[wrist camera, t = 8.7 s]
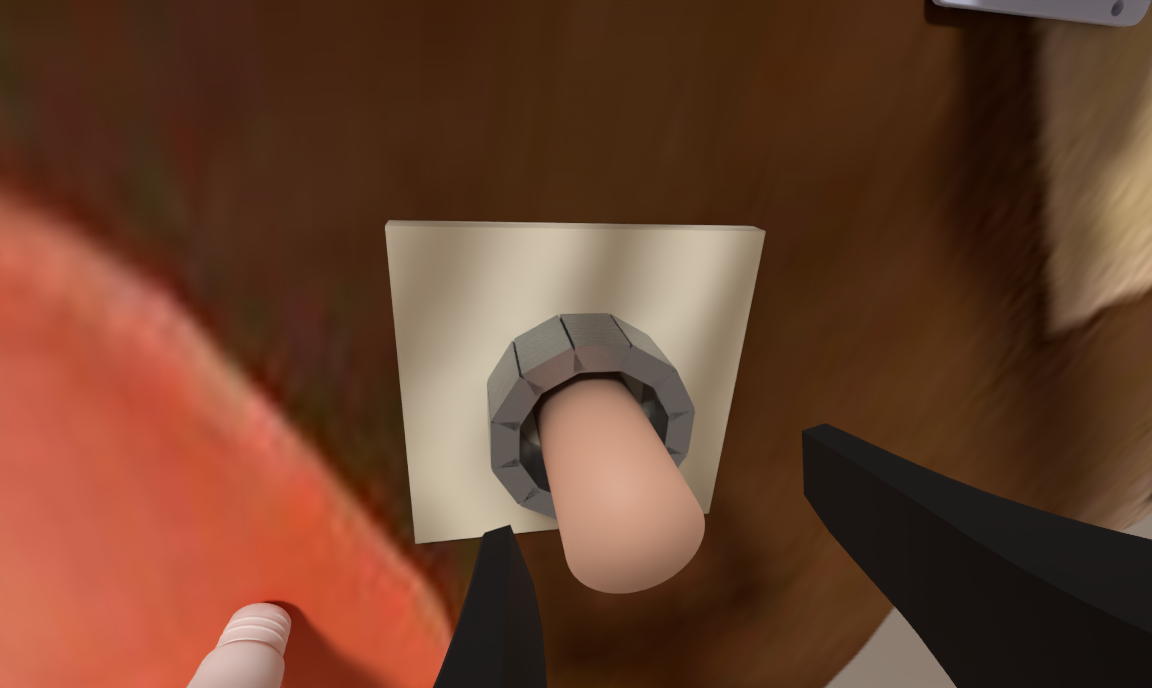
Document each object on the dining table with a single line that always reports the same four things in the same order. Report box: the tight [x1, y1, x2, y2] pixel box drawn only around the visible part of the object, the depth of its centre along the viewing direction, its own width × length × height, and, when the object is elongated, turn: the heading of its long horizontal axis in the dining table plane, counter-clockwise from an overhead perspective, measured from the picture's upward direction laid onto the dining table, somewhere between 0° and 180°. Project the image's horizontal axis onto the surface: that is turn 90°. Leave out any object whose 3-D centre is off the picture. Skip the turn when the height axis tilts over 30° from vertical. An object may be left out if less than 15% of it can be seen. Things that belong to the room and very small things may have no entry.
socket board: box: [385, 220, 766, 544], centre depth 21 cm, size 14×14×4 cm
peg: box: [532, 371, 705, 593], centre depth 18 cm, size 4×4×8 cm
